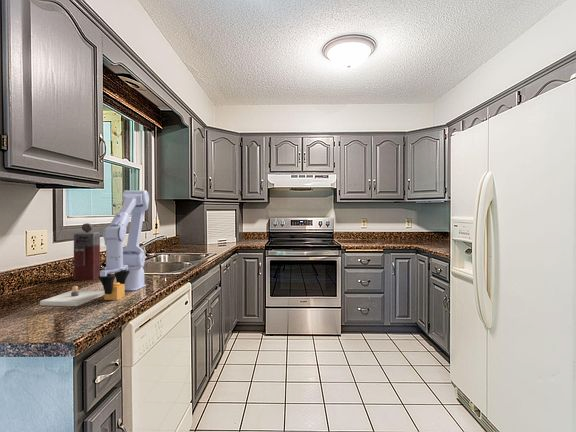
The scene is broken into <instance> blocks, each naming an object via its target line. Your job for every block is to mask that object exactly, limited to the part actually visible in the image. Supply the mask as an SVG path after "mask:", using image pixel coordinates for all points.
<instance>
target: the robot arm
mask: <svg viewBox="0 0 576 432" xmlns="http://www.w3.org/2000/svg"><path fill="white" fill-rule="evenodd" d="M121 195H122V196H121V197H122V202H123V203H122V205H121V208H120V211H119V212H116V213H115V215H114V216H113V219H112V221H111V222H110V224H109V226H107V227H105V228H104V229H103V232H102V238H103V240H104V245H105V249H106V250H105V253H106V254H105V256H106V257H105V259H106V260H105V261H106V262H105V263H106V264H105V267H106V268H105V269H103V270H100V276H98V278H97V279H99V281H100V283H101V285H102V287H103V291H105V294H112V289H113V283H114V282H115V280H116V282H120V284H125V291H131V292H132V291H135V292H136V291H137V290H140V289H142V288H144V287H146V286H147V284H145V271H144V269H143V267H144V266H145V263H146V257H145V255H146V252H145V250H144V249H143V248H141V246H140V241H141V235H142V229H143V223H144V222H143V221H144V214H145V212H146V211H147V210H148V209H149V203H150V195H149V191H147V190H146V189H143V190H132V189H131V190H130V189H129V190H128V189H126V190H123V192H122V193H121ZM130 216H131V217H130ZM129 222H130V224H129ZM128 225H129V229H128V235H127V227H128ZM126 235H127V236H126ZM126 237H127V243H126V246H124V243H123V242H124V240H125V239H126ZM113 274H114V275H113Z"/></svg>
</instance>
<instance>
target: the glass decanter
mask: <svg viewBox="0 0 576 432" xmlns="http://www.w3.org/2000/svg"><path fill="white" fill-rule="evenodd" d="M81 230H82V231H81V232H75V233H74V234H73V281H74V280H77V281H95V280H97V279H99V278H98V276H100V271H101V233H100V231H92V230H93V225H92V224H91V223H87V222H86V223H83V224H82V225H81Z"/></svg>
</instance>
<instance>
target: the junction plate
mask: <svg viewBox="0 0 576 432" xmlns="http://www.w3.org/2000/svg"><path fill="white" fill-rule="evenodd" d="M102 296H103V297H104V296H105V291H104V290H84V289H82V290H81V289H79V286H78V285H73V286H72V287H71V290H70V291H67V292H63V293H60V294H58V295H54V296H51V297H49V298H46V299H45V298H44V299H42V300H40V301H39V306H55V307H56V306H59V307H60V306H61V307H62V306H63V307H66V306H67V307H78V306H81V305H83V304H86V303H88V302H91V301H93V300H95V299H98V298H100V297H102Z"/></svg>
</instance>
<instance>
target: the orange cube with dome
mask: <svg viewBox="0 0 576 432" xmlns="http://www.w3.org/2000/svg"><path fill="white" fill-rule="evenodd" d="M125 291H126V290H125V284H120V282H117V281H116V282H115V281H114V282H113V289H112V294H105V295H104V301H105V300H107V301H118V300H121V299H122V298H125V297H126V293H125Z"/></svg>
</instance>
